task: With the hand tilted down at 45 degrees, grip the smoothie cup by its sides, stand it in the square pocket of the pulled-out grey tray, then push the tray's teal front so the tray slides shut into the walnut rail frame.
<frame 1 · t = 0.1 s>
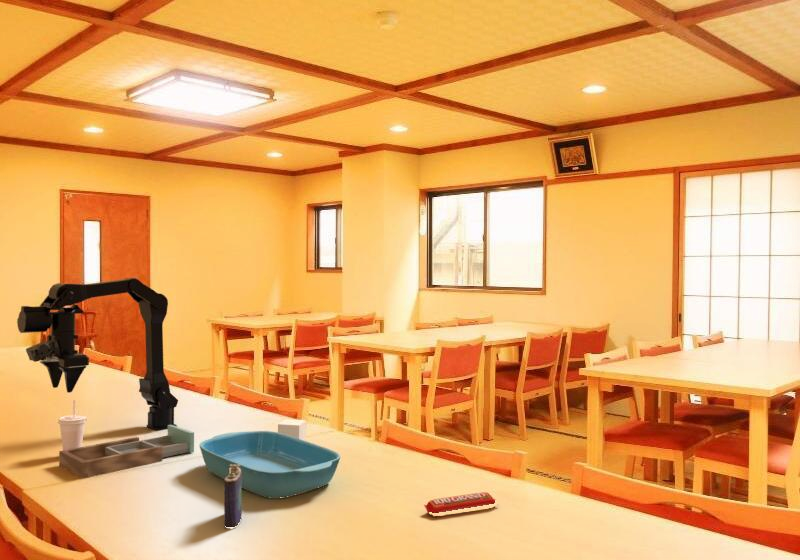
hand: (62, 389, 176), 15 cm above the table, tool pointing down, fingers open, 9 cm apart
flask: (233, 521, 127), on the table
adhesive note: (291, 444, 182), on the table
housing: (100, 465, 159), on the table
casserole dish: (268, 479, 153), on the table
smoothie: (72, 457, 166), on the table
tray: (149, 444, 168), point 3 cm above the table, slide at 8.0 cm
candy bar: (461, 512, 134), on the table
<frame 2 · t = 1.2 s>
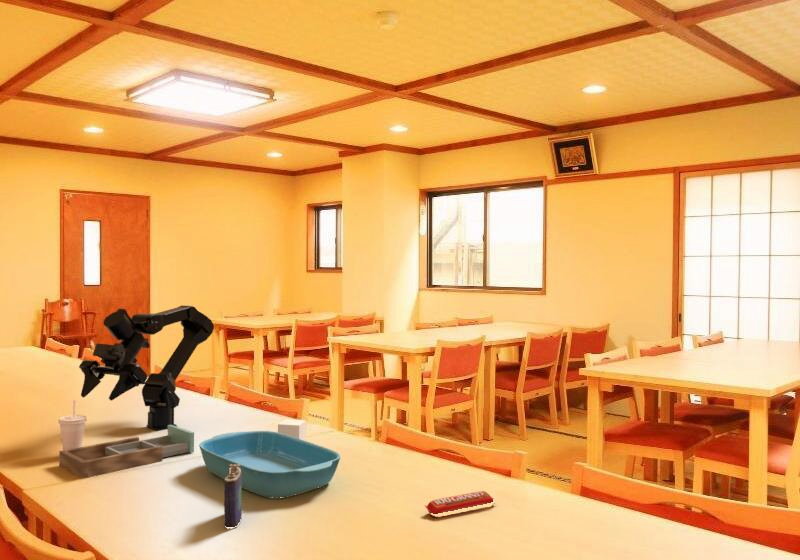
hand: (96, 398, 173), 13 cm above the table, tool tilted 45°, fingers open, 9 cm apart
nothing on the table moved.
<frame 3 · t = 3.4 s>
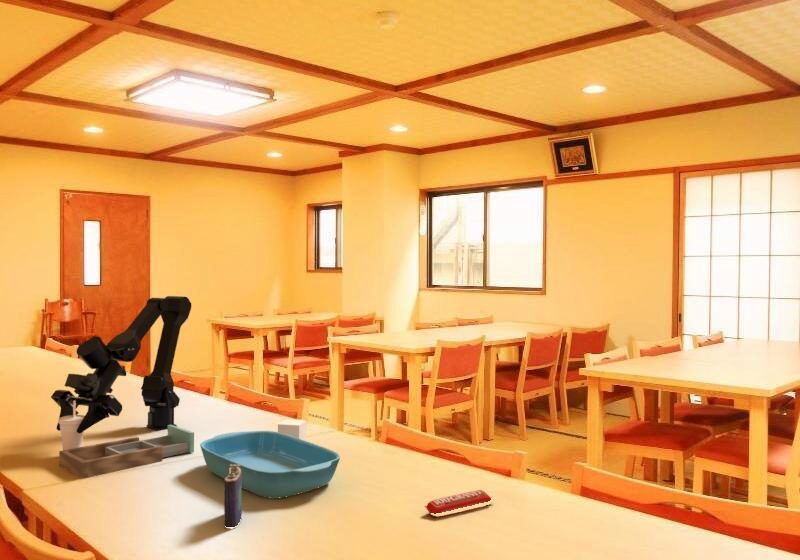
hand: (67, 431, 165), 7 cm above the table, tool tilted 45°, fingers closed on smoothie, 6 cm apart
smoothie: (72, 457, 166), on the table, touching gripper
when the fingers open (8 cm above the table, at t = 8.2 s): smoothie stays where it is, resting on tray.
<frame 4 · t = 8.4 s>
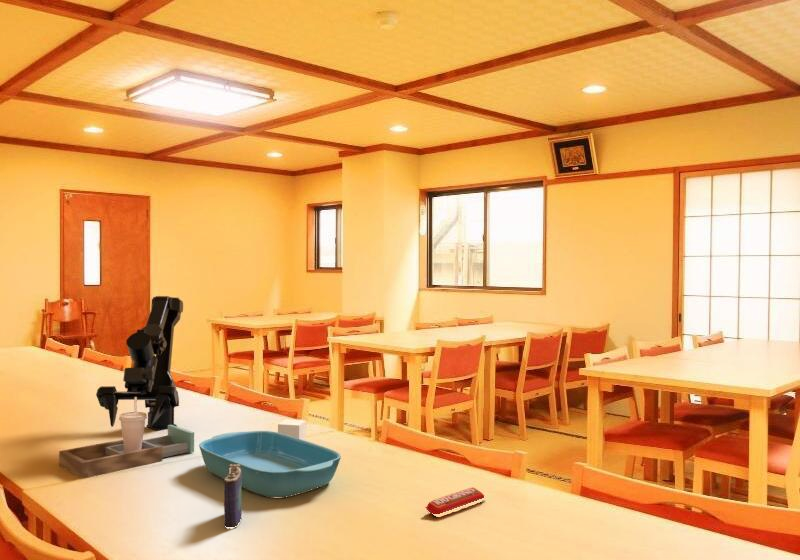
hand: (131, 425, 163), 9 cm above the table, tool tilted 45°, fingers open, 9 cm apart
smoothie: (132, 454, 165), point 1 cm above the table, touching tray
tray: (149, 444, 168), point 3 cm above the table, slide at 8.0 cm, touching smoothie
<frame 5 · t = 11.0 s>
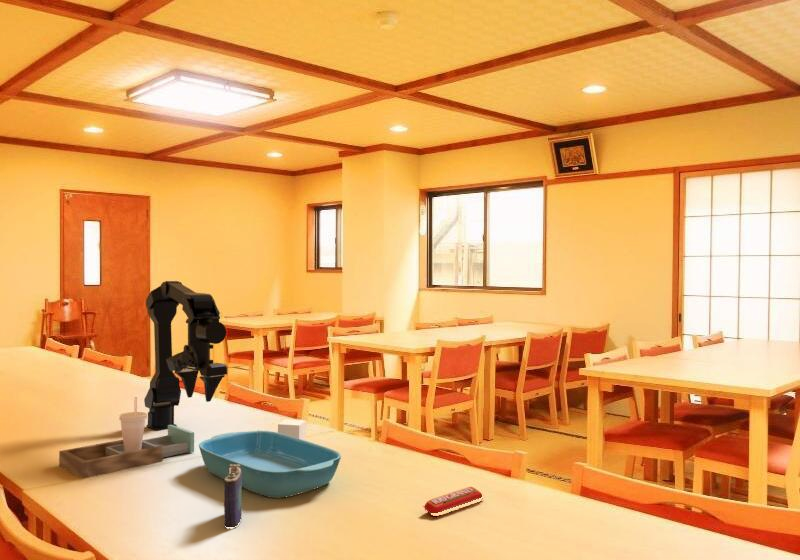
hand: (198, 399, 178), 12 cm above the table, tool pointing down, fingers open, 9 cm apart
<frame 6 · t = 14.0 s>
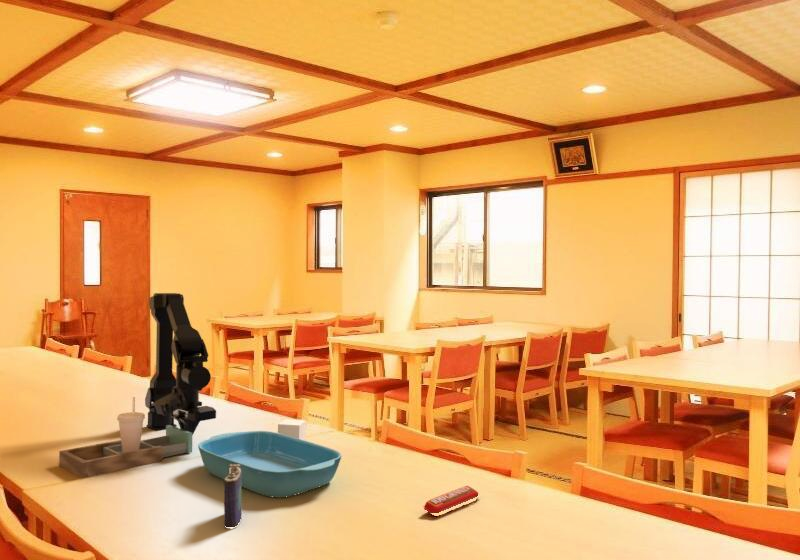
hand: (187, 441, 176), 2 cm above the table, tool pointing down, fingers closed
tray: (147, 444, 168), point 3 cm above the table, slide at 7.5 cm, touching gripper, smoothie
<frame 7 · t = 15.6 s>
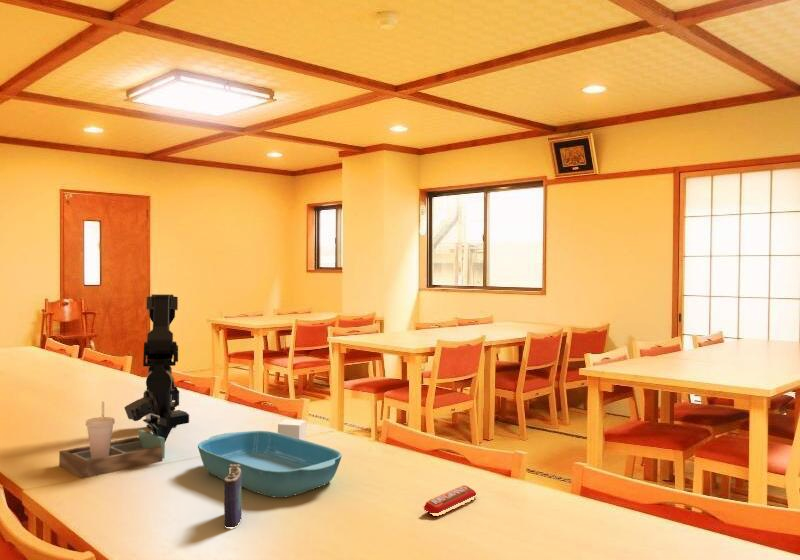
hand: (160, 447, 170), 2 cm above the table, tool pointing down, fingers closed, pressing on tray
smoothie: (99, 461, 159), point 1 cm above the table, touching tray
tray: (118, 450, 162), point 3 cm above the table, slide at -0.1 cm, touching gripper, smoothie
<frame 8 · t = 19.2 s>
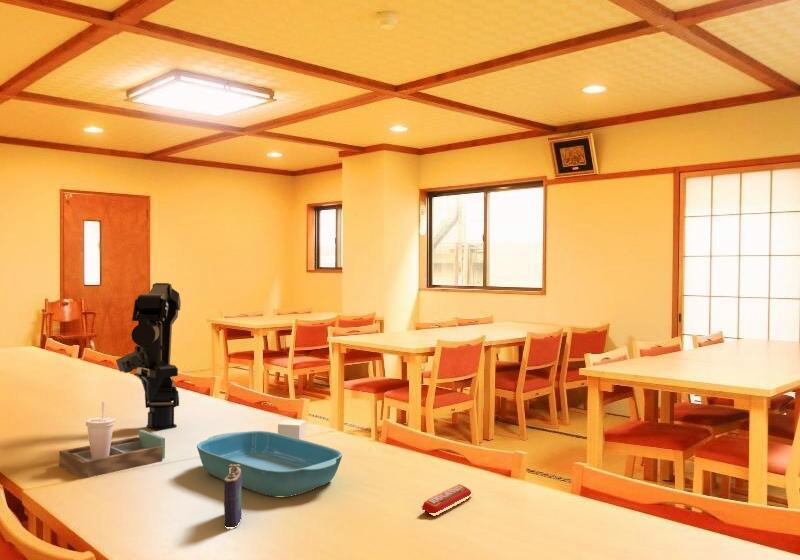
hand: (149, 400, 177), 12 cm above the table, tool pointing down, fingers closed
tray: (118, 450, 162), point 3 cm above the table, slide at 0.0 cm, touching smoothie
at the end: tray slide at 0.0 cm; smoothie inside the target area on the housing (0.1 cm from its centre), point 1.1 cm above the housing's base; smoothie tilted 0° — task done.
